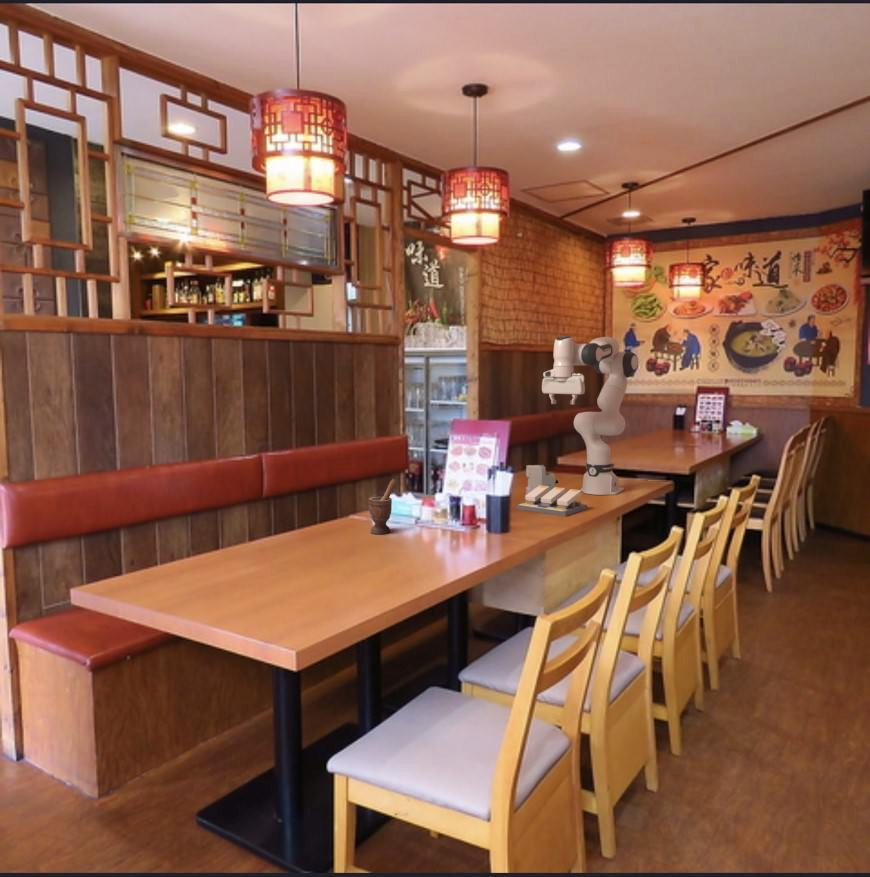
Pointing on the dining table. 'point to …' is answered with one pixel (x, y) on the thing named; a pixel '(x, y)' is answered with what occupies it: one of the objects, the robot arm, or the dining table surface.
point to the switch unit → (552, 507)
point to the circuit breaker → (539, 478)
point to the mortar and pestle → (382, 509)
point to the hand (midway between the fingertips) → (563, 404)
